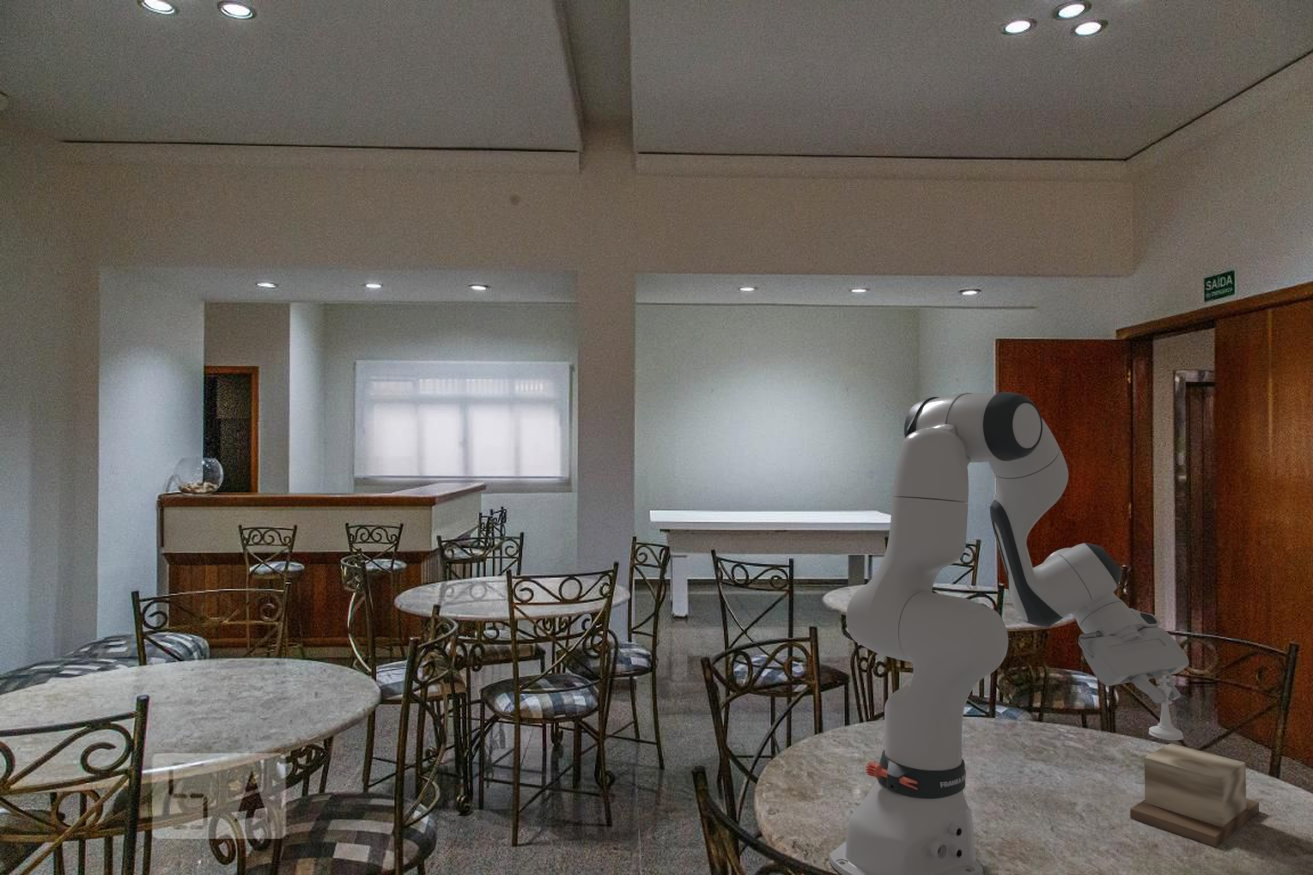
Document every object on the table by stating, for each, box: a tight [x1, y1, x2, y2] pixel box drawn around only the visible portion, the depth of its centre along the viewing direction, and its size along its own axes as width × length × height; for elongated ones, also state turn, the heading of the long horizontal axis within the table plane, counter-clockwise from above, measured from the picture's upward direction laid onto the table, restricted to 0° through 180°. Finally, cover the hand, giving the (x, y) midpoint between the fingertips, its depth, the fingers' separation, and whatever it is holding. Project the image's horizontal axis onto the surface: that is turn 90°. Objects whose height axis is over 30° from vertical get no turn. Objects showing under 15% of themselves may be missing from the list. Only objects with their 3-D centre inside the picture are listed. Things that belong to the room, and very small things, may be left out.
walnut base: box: [1129, 742, 1260, 848], centre depth 130 cm, size 20×12×9 cm, turn 127°
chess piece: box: [1148, 675, 1184, 741], centre depth 132 cm, size 5×5×10 cm
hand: (1168, 699), depth 132 cm, fingers closed on chess piece, 2 cm apart
